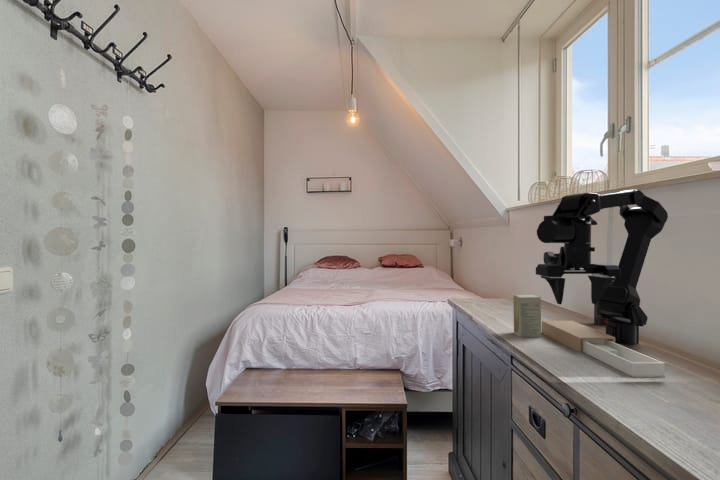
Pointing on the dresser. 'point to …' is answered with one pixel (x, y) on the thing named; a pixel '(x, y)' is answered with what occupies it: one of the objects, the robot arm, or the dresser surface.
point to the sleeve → (572, 333)
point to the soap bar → (607, 348)
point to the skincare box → (527, 315)
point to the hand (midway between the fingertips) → (576, 304)
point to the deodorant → (597, 315)
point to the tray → (625, 359)
